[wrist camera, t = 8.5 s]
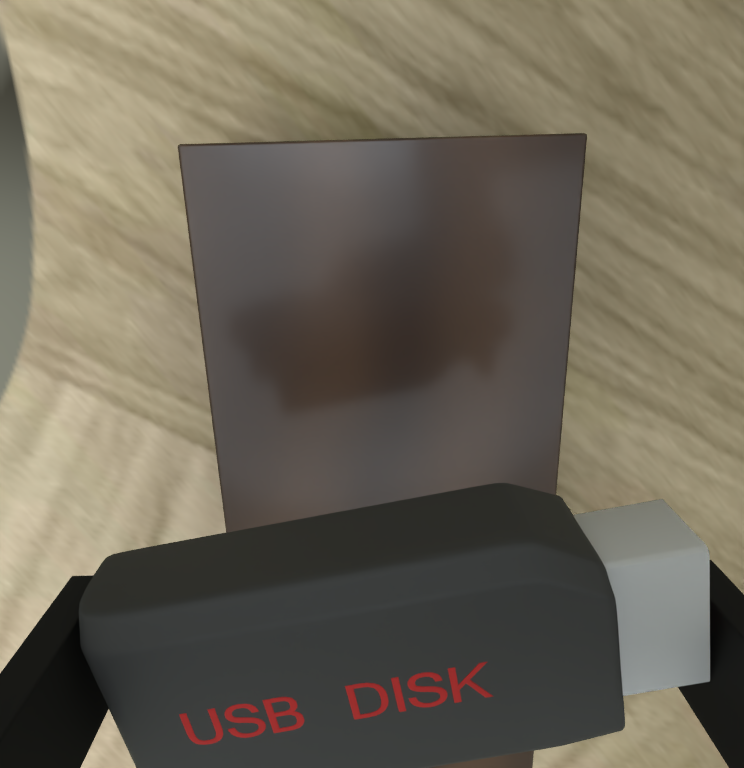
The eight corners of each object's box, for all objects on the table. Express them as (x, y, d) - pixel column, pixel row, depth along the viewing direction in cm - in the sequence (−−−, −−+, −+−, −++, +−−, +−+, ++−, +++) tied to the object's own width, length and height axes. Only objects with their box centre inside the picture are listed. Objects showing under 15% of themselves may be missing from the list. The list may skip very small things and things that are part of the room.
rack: (524, 147, 27) (588, 132, 20) (497, 652, 37) (532, 772, 29) (227, 156, 27) (176, 144, 20) (278, 660, 37) (257, 783, 29)
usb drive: (105, 554, 13) (40, 650, 10) (653, 452, 12) (734, 526, 10) (178, 727, 14) (138, 847, 12) (661, 645, 14) (732, 752, 11)
